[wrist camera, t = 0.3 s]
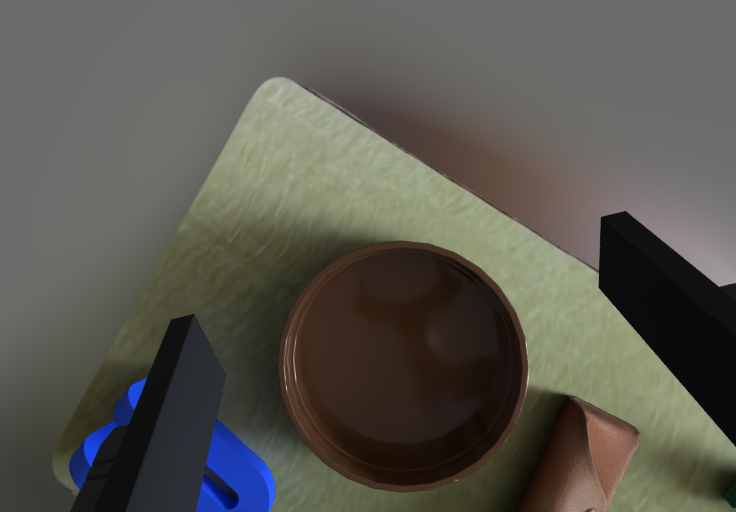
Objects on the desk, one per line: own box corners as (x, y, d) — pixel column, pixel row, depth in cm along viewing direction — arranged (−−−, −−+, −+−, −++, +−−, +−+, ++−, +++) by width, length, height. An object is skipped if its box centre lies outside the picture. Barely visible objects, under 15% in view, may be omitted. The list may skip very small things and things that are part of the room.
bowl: (560, 355, 49) (582, 367, 43) (401, 510, 50) (402, 544, 44) (400, 199, 50) (400, 190, 44) (248, 352, 51) (228, 364, 45)
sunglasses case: (572, 596, 48) (558, 623, 42) (506, 548, 52) (485, 567, 46) (646, 428, 48) (641, 433, 42) (574, 392, 52) (561, 393, 46)
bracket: (113, 429, 52) (53, 464, 43) (163, 370, 51) (113, 392, 42) (239, 546, 51) (204, 607, 42) (291, 486, 50) (267, 535, 41)
